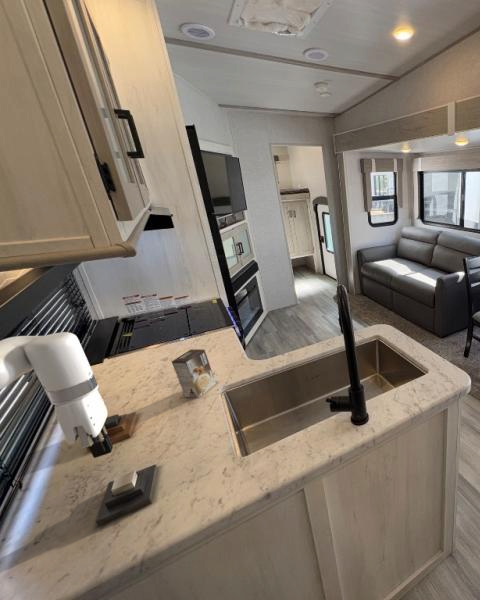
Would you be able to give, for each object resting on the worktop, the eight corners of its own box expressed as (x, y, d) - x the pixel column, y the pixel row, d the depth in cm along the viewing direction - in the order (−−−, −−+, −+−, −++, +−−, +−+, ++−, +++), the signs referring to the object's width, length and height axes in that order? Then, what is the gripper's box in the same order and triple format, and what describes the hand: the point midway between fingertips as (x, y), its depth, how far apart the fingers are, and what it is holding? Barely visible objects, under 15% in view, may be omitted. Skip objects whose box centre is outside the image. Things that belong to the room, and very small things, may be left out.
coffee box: (202, 383, 124) (191, 348, 118) (216, 384, 123) (205, 348, 117) (184, 398, 115) (170, 361, 110) (199, 399, 114) (186, 361, 109)
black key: (101, 431, 96) (98, 426, 95) (104, 423, 99) (102, 418, 98) (117, 426, 98) (115, 420, 97) (120, 418, 101) (118, 413, 100)
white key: (114, 496, 74) (111, 490, 73) (118, 484, 77) (114, 478, 77) (135, 488, 76) (132, 482, 75) (137, 476, 79) (135, 470, 78)
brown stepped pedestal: (89, 453, 92) (83, 443, 91) (100, 429, 102) (95, 419, 101) (131, 438, 97) (126, 428, 96) (137, 416, 107) (133, 407, 105)
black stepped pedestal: (99, 528, 71) (92, 516, 69) (111, 488, 80) (105, 477, 79) (152, 504, 75) (147, 493, 74) (158, 469, 85) (153, 459, 84)
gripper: (62, 377, 71) (92, 439, 77) (32, 414, 59) (71, 484, 65) (104, 367, 75) (130, 427, 81) (85, 400, 62) (116, 468, 69)
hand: (103, 452), depth 73 cm, fingers closed
